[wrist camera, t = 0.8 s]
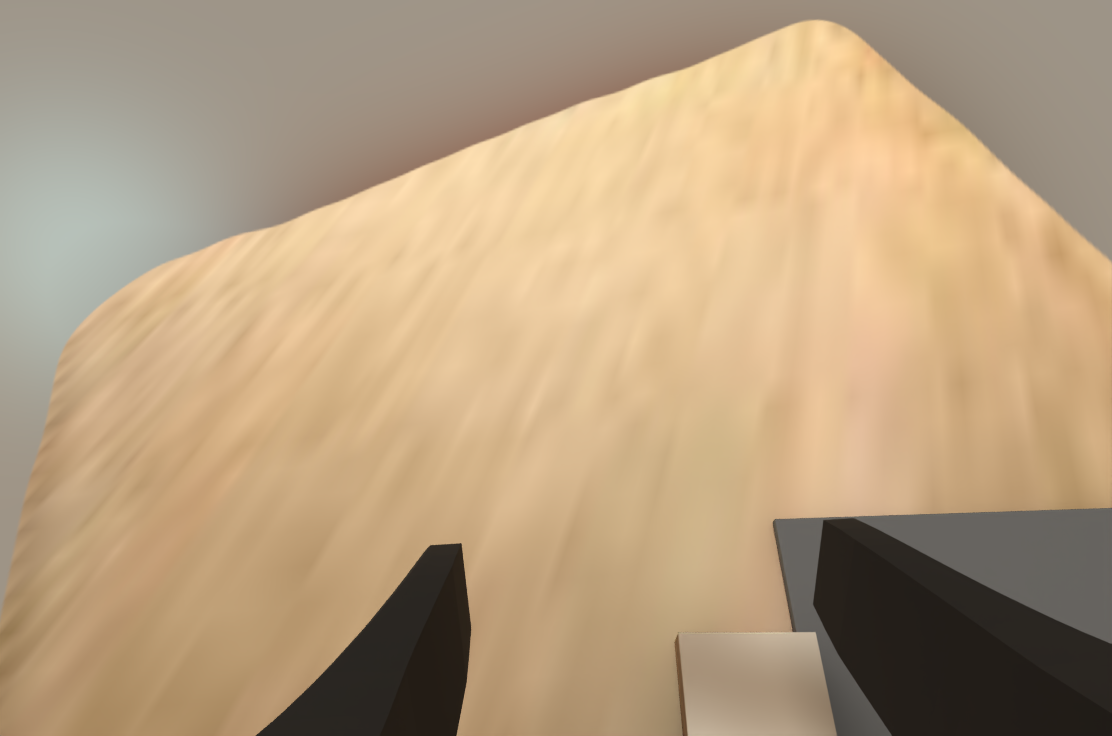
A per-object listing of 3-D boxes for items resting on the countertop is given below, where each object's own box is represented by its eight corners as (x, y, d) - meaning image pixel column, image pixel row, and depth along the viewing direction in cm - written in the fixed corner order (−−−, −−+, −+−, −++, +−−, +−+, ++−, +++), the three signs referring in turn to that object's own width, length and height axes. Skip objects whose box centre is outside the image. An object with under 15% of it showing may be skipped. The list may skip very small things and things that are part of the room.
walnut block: (789, 757, 21) (850, 802, 14) (684, 754, 21) (694, 795, 15) (770, 642, 23) (815, 632, 16) (674, 642, 23) (678, 632, 17)
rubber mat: (1433, 986, 16) (1459, 997, 15) (850, 938, 18) (856, 947, 18) (1170, 509, 22) (1182, 505, 22) (772, 522, 25) (774, 519, 24)
